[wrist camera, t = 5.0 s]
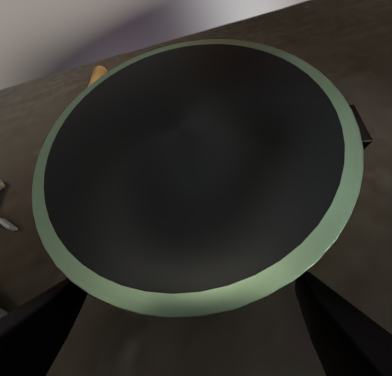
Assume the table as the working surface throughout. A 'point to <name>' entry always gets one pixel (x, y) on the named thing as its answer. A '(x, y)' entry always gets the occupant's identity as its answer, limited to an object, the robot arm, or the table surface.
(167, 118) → the cooking pot
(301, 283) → the robot arm
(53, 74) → the table surface
